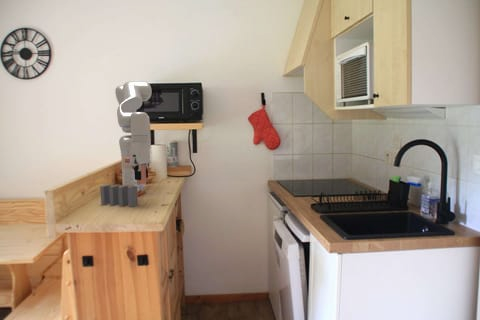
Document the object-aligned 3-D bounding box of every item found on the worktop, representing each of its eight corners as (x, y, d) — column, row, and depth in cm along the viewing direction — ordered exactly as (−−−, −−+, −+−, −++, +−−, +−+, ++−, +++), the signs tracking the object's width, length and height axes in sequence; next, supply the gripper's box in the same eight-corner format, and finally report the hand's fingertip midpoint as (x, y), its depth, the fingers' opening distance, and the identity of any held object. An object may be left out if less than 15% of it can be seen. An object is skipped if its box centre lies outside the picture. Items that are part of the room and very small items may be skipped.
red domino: (137, 184, 166) (136, 164, 165) (143, 182, 171) (142, 163, 170) (140, 184, 165) (139, 165, 165) (146, 182, 170) (145, 163, 169)
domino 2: (110, 205, 172) (109, 186, 171) (116, 203, 177) (115, 185, 176) (113, 205, 171) (112, 187, 170) (119, 203, 176) (119, 185, 175)
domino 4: (128, 206, 169) (127, 187, 168) (134, 204, 174) (133, 186, 173) (131, 207, 168) (131, 188, 167) (137, 204, 173) (137, 186, 172)
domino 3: (119, 206, 170) (118, 187, 169) (125, 204, 175) (124, 185, 174) (122, 206, 170) (121, 187, 169) (128, 204, 175) (128, 185, 174)
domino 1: (101, 205, 173) (100, 186, 172) (107, 202, 178) (107, 184, 177) (104, 205, 173) (103, 186, 172) (111, 203, 177) (110, 184, 177)
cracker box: (134, 198, 188) (133, 158, 186) (123, 197, 189) (122, 157, 187) (146, 193, 202) (145, 155, 200) (136, 192, 203) (135, 155, 201)
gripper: (143, 138, 175) (144, 176, 177) (121, 140, 159) (123, 181, 161) (156, 138, 173) (158, 176, 175) (136, 140, 157) (138, 182, 159)
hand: (141, 178), depth 168 cm, fingers closed on red domino, 4 cm apart
